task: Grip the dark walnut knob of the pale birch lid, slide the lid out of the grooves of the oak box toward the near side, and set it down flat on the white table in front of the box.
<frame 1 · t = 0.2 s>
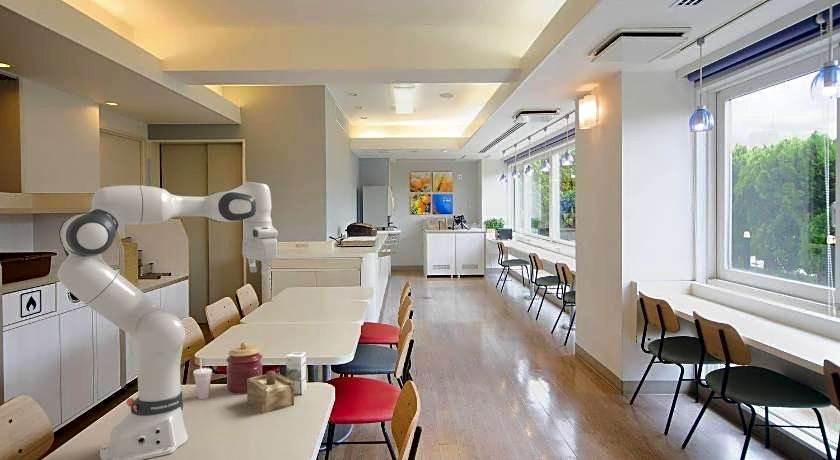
hand: (259, 273, 169), 47 cm above the table, fingers open, 8 cm apart
smoothie: (203, 397, 188), on the table
canister: (245, 388, 197), on the table
lid: (270, 386, 181), point 6 cm above the table, touching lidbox
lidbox: (270, 403, 181), on the table
syrup box: (296, 392, 192), on the table
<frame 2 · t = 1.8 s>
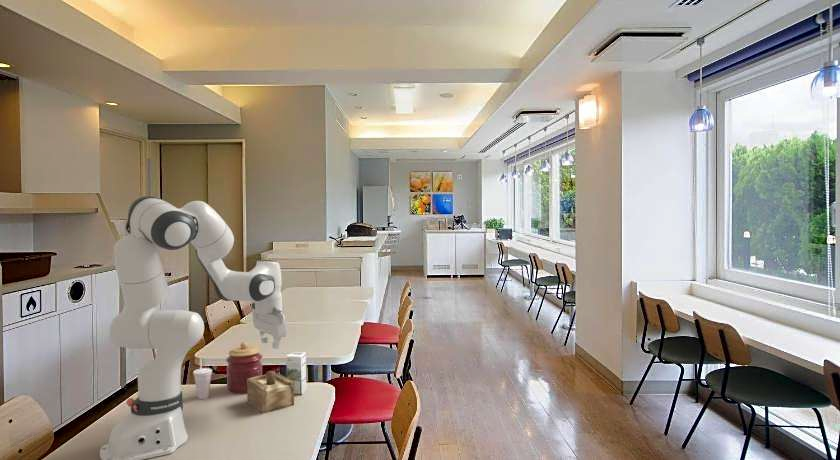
hand: (270, 345, 180), 21 cm above the table, fingers open, 8 cm apart
nothing on the table moved.
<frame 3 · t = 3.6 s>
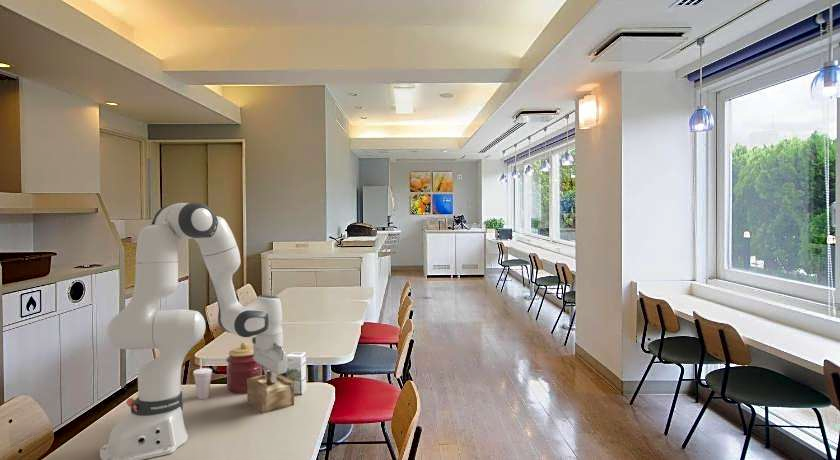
hand: (270, 380, 180), 8 cm above the table, fingers closed on lid, 3 cm apart
lid: (270, 386, 181), point 6 cm above the table, touching gripper, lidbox
everything else where it was.
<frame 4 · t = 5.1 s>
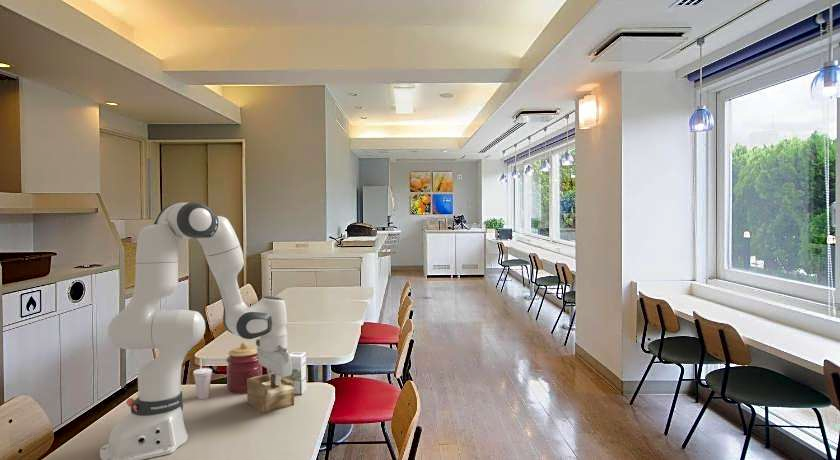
hand: (274, 383, 178), 8 cm above the table, fingers closed on lid, 3 cm apart
lid: (275, 389, 178), point 6 cm above the table, touching gripper
everything else where it was.
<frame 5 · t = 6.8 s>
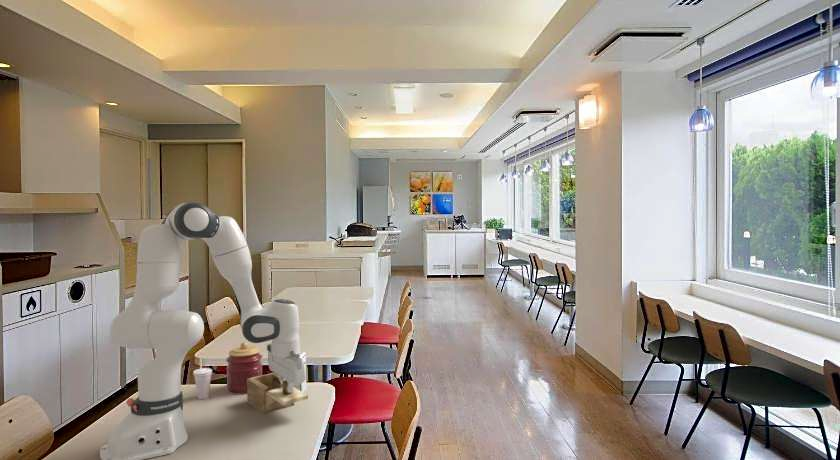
hand: (286, 390, 171), 8 cm above the table, fingers closed on lid, 3 cm apart
lid: (287, 396, 171), point 6 cm above the table, touching gripper
everything else where it was.
when the fingers open (3 cm above the table, at t = 9.2 s): lid drops 2 cm, on the table.
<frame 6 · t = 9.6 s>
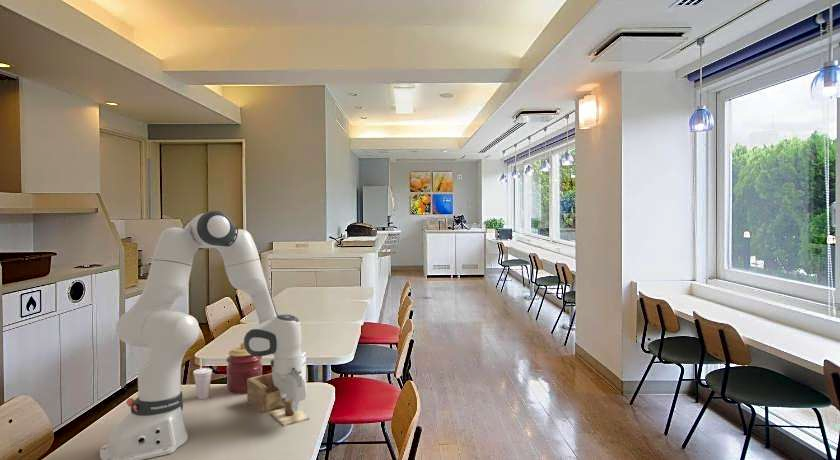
hand: (289, 406, 170), 3 cm above the table, fingers open, 7 cm apart
lid: (289, 418, 170), on the table
everything else where it was.
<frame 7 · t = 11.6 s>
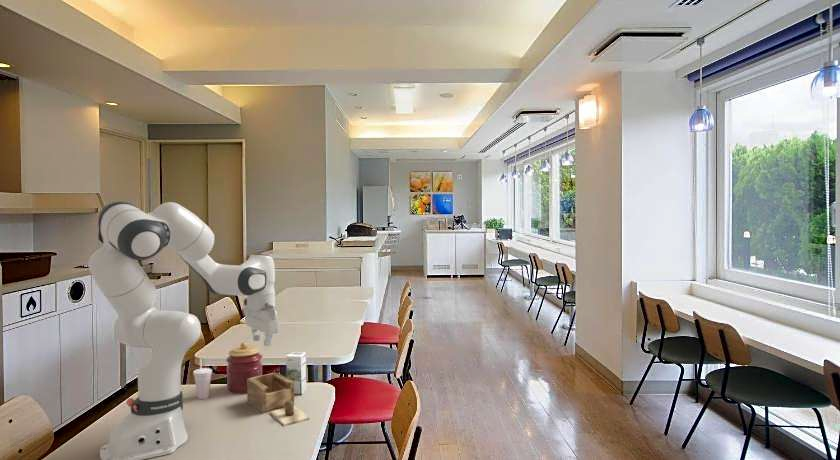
hand: (261, 343, 174), 23 cm above the table, fingers open, 8 cm apart
nothing on the table moved.
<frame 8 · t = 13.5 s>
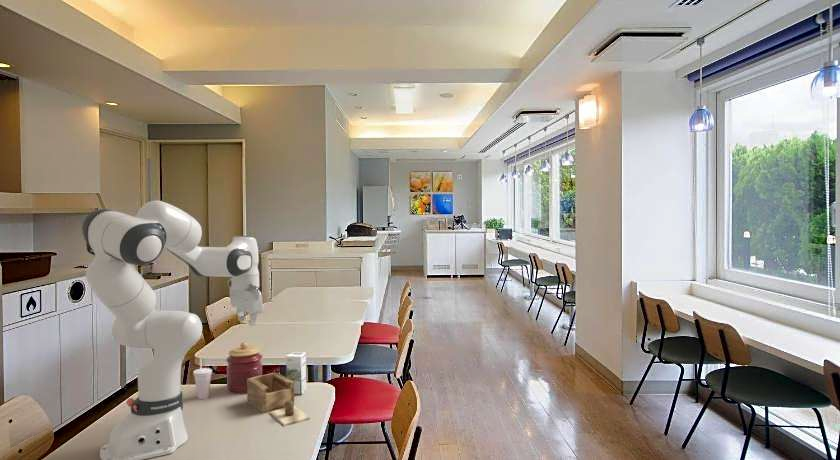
hand: (246, 323, 177), 29 cm above the table, fingers open, 8 cm apart
nothing on the table moved.
at the end: lid inside the target area (0.6 cm from its centre), on the table; lid tilted 0°; the gripper is holding nothing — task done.
